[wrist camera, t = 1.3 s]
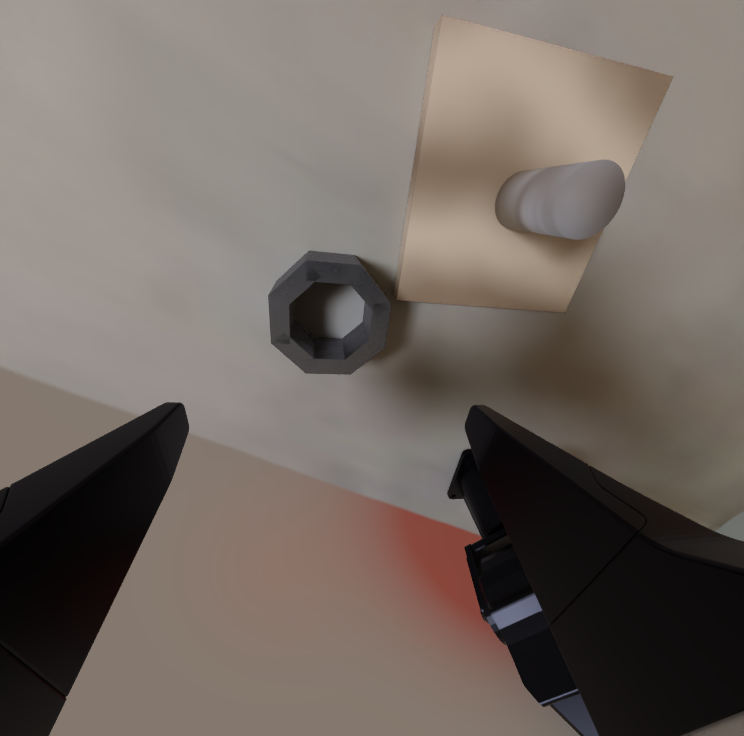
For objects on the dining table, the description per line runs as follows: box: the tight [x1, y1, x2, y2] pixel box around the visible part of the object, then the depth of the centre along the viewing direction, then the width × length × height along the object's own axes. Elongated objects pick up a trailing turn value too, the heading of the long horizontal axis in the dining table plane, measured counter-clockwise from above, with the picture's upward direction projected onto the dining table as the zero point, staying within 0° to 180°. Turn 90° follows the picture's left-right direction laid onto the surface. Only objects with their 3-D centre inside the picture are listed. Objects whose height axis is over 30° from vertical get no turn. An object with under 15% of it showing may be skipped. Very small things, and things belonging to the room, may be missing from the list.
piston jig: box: [393, 15, 673, 313], centre depth 14 cm, size 12×12×6 cm
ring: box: [268, 251, 391, 375], centre depth 17 cm, size 6×6×3 cm
